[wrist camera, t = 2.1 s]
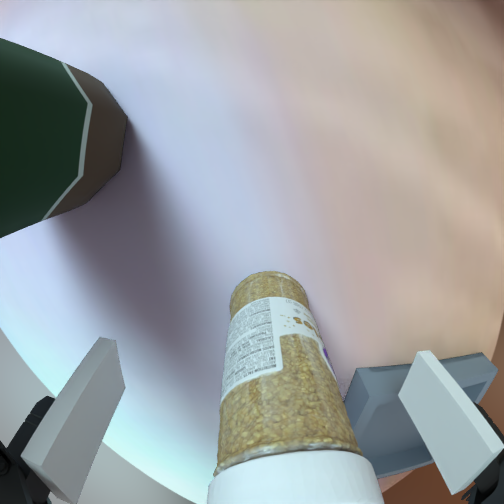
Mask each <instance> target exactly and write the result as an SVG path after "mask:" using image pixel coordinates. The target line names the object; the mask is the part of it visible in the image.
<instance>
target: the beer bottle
mask: <svg viewBox="0 0 504 504" xmlns="http://www.w3.org/2000/svg"><path fill="white" fill-rule="evenodd" d="M126 123H127V116H126V114H125V113H124V112H123V110H122V109H121V107H120V106H119V105H118V103H117V102H116V100H115V99H114V98H113V96H112V95H111V94H110V92H109V91H108V89H107V88H106V87H105V85H104V84H103V83H102V82H101V81H99V80H98V79H96V78H94V77H93V76H91V75H90V74H88V73H86V72H83V71H81V70H79V69H77V68H75V67H72V66H70V65H68V64H66V63H63V62H61V61H59V60H56V59H54V58H52V57H49V56H47V55H44V54H42V53H39V52H37V51H34V50H32V49H29V48H27V47H24V46H21V45H19V44H16V43H13V42H10V41H8V40H5V39H2V38H0V238H2V237H4V236H7V235H9V234H11V233H14V232H16V231H18V230H21V229H23V228H26V227H28V226H30V225H33V224H35V223H38V222H41V221H43V220H46V219H48V218H51V217H54V216H56V215H59V214H62V213H64V212H67V211H70V210H72V209H75V208H77V207H79V206H81V205H83V204H85V203H87V202H88V201H89V200H90V199H91V198H92V197H93V196H94V195H95V194H96V193H97V192H98V191H99V190H100V189H101V188H102V187H103V186H104V185H105V184H106V183H107V182H108V181H109V180H110V179H111V178H112V177H113V176H114V175H115V174H116V173H117V172H118V171H119V170H120V166H121V157H122V150H123V142H124V135H125V129H126Z"/></svg>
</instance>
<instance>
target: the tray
mask: <svg viewBox="0 0 504 504" xmlns="http://www.w3.org/2000/svg"><path fill="white" fill-rule="evenodd" d="M438 361H439V362H440V363H441V364H442V366H443V367H444V368H445V369H446V370H447V372H448V373H449V374H450V375H451V376H452V378H453V379H454V380H455V381H456V382H457V384H458V385H459V386H460V387H461V389H462V390H463V391H464V392H465V394H466V395H467V396H468V397H469V399H470V400H471V401H472V402H475V403H476V404H478V403H479V402H480V400H481V399H482V397H483V396H484V394H485V392H486V391H487V389H488V387H489V386H490V384H491V382H492V381H493V379H494V377H495V375H496V373H497V372H498V369H497V368H496V367H495V366H494V365H493V364H492V363H491V361H490V360H489V359H488V358H487V357H486V356H485V355H484V354H483V353H482V352H481V353H476V354H471V355H466V356H461V357H455V358H449V359H443V360H438ZM411 366H412V364H404V365H394V366H383V367H370V368H357V369H356V371H355V374H354V377H353V379H352V382H351V385H350V387H349V390H348V392H347V395H346V398H345V400H344V402H343V403H344V405H345V408H346V411H347V416H348V418H349V420H350V424H351V427H352V430H353V432H354V435H355V438H356V440H357V442H358V448H360V449H361V451H362V453H363V457H364V458H366V459H367V460H368V461H369V462H370V463H371V464H372V467H373V469H374V472H375V475H376V478H377V479H379V478H383V477H387V476H391V475H395V474H399V473H402V472H406V471H409V470H413V469H416V468H419V467H422V466H425V465H428V464H431V463H433V462H435V461H434V459H433V457H432V455H431V453H430V452H429V450H428V448H427V446H426V444H425V442H424V441H423V439H422V437H421V435H420V433H419V431H418V430H417V428H416V426H415V424H414V422H413V421H412V419H411V417H410V415H409V414H408V412H407V410H406V408H405V407H404V405H403V403H402V401H401V400H400V398H399V396H398V394H399V392H400V390H401V388H402V386H403V384H404V382H405V379H406V377H407V375H408V373H409V370H410V368H411Z"/></svg>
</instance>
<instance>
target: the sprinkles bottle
mask: <svg viewBox="0 0 504 504" xmlns="http://www.w3.org/2000/svg"><path fill="white" fill-rule="evenodd" d="M230 314H231V319H230V325H229V328H228V334H227V342H226V351H225V360H224V369H223V379H222V390H221V399H220V432H219V440H218V454H217V460H218V463H217V467H216V469H215V472H214V473H213V476H214V479H213V480H212V481H211V483H210V485H209V488H208V497H207V504H384V500H383V497H382V493H381V490H380V487H379V483H378V480H377V478H376V475H375V472H374V469H373V467H372V464H371V463H370V462H369V461H368V460H367V459H366V458H364V457H363V453H362V451H361V449H360V448H358V442H357V440H356V438H355V435H354V432H353V430H352V427H351V424H350V420H349V418H348V416H347V411H346V408H345V405H344V403H343V401H342V398H341V395H340V392H339V385H338V382H337V379H336V376H335V373H334V371H333V368H332V365H331V363H330V360H329V357H328V355H327V352H326V349H325V346H324V344H323V341H322V338H321V335H320V333H319V330H318V327H317V325H316V322H315V320H314V318H313V316H312V314H311V312H310V309H309V307H308V300H307V297H306V294H305V291H304V289H303V288H302V286H301V285H300V284H299V283H298V282H297V281H296V280H295V279H293V278H292V277H290V276H288V275H287V274H285V273H280V272H276V271H265V272H259V273H256V274H252V275H250V276H248V277H247V278H246V279H244V280H243V281H242V282H241V283H240V284H239V285H238V286H237V287H236V288H235V290H234V292H233V294H232V296H231V302H230Z"/></svg>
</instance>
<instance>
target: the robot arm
mask: <svg viewBox="0 0 504 504" xmlns="http://www.w3.org/2000/svg"><path fill="white" fill-rule="evenodd" d="M124 390H125V384H124V380H123V376H122V371H121V366H120V361H119V356H118V351H117V346H116V340H112V339H107V338H101V337H99V339H98V340H97V341H96V343H95V344H94V345H93V347H92V348H91V349H90V351H89V352H88V353H87V355H86V356H85V358H84V359H83V360H82V362H81V363H80V365H79V366H78V367H77V369H76V370H75V372H74V373H73V375H72V376H71V377H70V379H69V380H68V382H67V383H66V385H65V386H64V388H63V389H62V391H61V392H60V393H59V395H58V396H57V398H56V399H54V398H52V397H49V396H46V397H44V398H43V399H42V400H40V401H39V402H37V403H36V405H35V406H34V408H33V409H32V411H31V412H30V414H29V415H28V416H27V418H26V419H25V422H23V424H22V425H21V427H20V428H19V430H18V431H17V433H16V434H15V436H14V438H13V439H12V441H11V442H10V444H9V446H8V447H7V448H5V446H4V445H3V444H2V442H1V441H0V504H52V503H51V501H50V499H49V498H48V495H49V493H50V491H51V492H52V493H53V494H54V495H55V496H56V497H57V498H59V499H61V500H63V501H66V502H68V503H70V504H77V502H78V499H79V497H80V494H81V491H82V489H83V486H84V483H85V481H86V478H87V476H88V473H89V471H90V468H91V466H92V463H93V461H94V458H95V456H96V454H97V451H98V449H99V446H100V444H101V442H102V439H103V437H104V435H105V432H106V430H107V428H108V426H109V423H110V421H111V419H112V417H113V414H114V412H115V410H116V408H117V405H118V403H119V401H120V399H121V397H122V395H123V392H124ZM398 396H399V398H400V400H401V401H402V403H403V405H404V407H405V408H406V410H407V412H408V414H409V415H410V417H411V419H412V421H413V422H414V424H415V426H416V428H417V430H418V431H419V433H420V435H421V437H422V439H423V441H424V442H425V444H426V446H427V448H428V450H429V452H430V453H431V455H432V457H433V459H434V461H435V463H436V465H437V467H438V469H439V470H440V472H441V475H442V476H443V478H444V480H445V482H446V484H447V486H448V488H449V490H450V492H451V494H452V495H453V494H455V493H457V492H459V491H461V490H463V489H465V488H466V487H467V486H468V485H469V484H470V483H472V481H474V482H475V483H476V484H475V485H474V486H473V487H472V488H471V489H470V490H468V491H467V492H466V493H465V494H464V495H463V496H462V499H461V500H463V499H465V498H466V497H467V496H468V495H469V494H470V493H471V494H470V496H469V497H468V498H467V499H466V501H469V503H468V504H504V436H503V434H502V433H501V432H500V430H499V429H498V427H497V426H496V425H495V424H494V423H493V421H492V419H491V418H490V417H488V414H487V413H486V412H485V410H484V409H483V408H482V407H481V406H479V405H478V404H476V403H475V402H472V401H471V400H470V399H469V397H468V396H467V395H466V394H465V392H464V391H463V390H462V389H461V387H460V386H459V385H458V384H457V382H456V381H455V380H454V379H453V378H452V376H451V375H450V374H449V373H448V372H447V370H446V369H445V368H444V367H443V366H442V364H441V363H440V362H439V361H438V360H437V358H436V357H435V356H434V355H433V354H432V353H431V351H430V350H428V351H419V352H417V354H416V356H415V359H414V361H413V364H412V366H411V368H410V370H409V373H408V375H407V377H406V379H405V382H404V384H403V386H402V388H401V390H400V392H399V394H398Z"/></svg>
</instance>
